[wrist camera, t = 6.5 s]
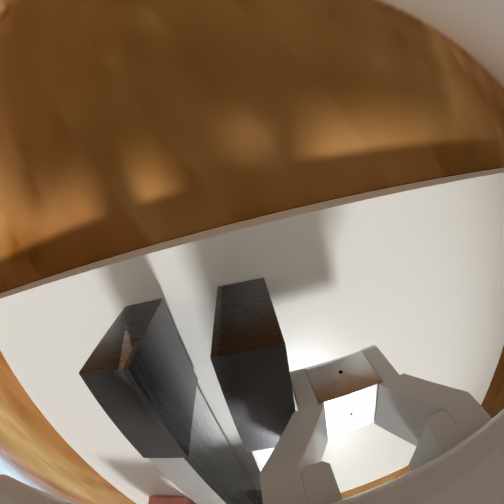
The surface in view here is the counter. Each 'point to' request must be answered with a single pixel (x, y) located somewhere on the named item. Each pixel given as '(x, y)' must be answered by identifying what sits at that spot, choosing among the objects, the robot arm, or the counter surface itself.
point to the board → (284, 312)
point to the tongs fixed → (164, 406)
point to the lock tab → (168, 500)
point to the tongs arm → (252, 365)
